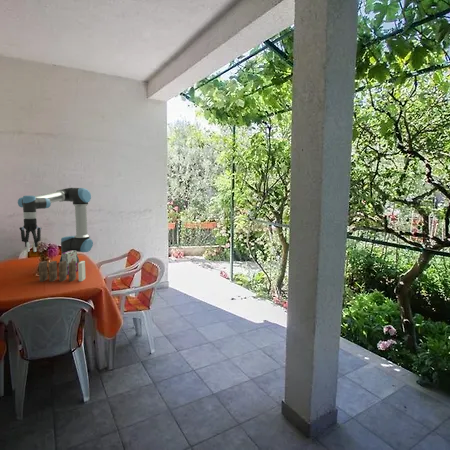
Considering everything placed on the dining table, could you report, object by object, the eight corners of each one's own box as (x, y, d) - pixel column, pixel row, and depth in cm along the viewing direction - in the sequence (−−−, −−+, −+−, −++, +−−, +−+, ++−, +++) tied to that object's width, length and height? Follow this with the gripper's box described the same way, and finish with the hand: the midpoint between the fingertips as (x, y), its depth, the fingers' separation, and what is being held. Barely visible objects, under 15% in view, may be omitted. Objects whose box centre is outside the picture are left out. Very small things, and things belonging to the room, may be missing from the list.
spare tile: (78, 281, 220) (78, 263, 219) (82, 278, 227) (81, 260, 226) (82, 281, 221) (81, 263, 219) (85, 278, 228) (85, 260, 226)
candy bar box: (72, 270, 247) (71, 250, 245) (77, 271, 246) (77, 250, 244) (62, 274, 236) (61, 253, 234) (68, 274, 235) (67, 253, 233)
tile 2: (49, 281, 218) (48, 263, 217) (53, 278, 225) (53, 260, 223) (53, 281, 218) (52, 263, 217) (57, 278, 225) (56, 260, 224)
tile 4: (69, 281, 220) (68, 263, 218) (72, 278, 226) (72, 260, 225) (72, 281, 220) (72, 263, 218) (76, 278, 227) (75, 260, 225)
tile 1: (39, 281, 217) (38, 263, 216) (44, 278, 224) (43, 261, 223) (43, 281, 218) (42, 263, 216) (47, 278, 225) (46, 261, 223)
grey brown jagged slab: (59, 281, 219) (58, 263, 217) (63, 278, 226) (62, 260, 224) (62, 281, 219) (62, 263, 218) (66, 278, 226) (66, 260, 224)
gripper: (13, 218, 210) (15, 252, 213) (40, 218, 212) (42, 252, 215) (19, 217, 218) (21, 250, 220) (45, 217, 219) (46, 250, 222)
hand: (31, 251), depth 218 cm, fingers open, 4 cm apart
